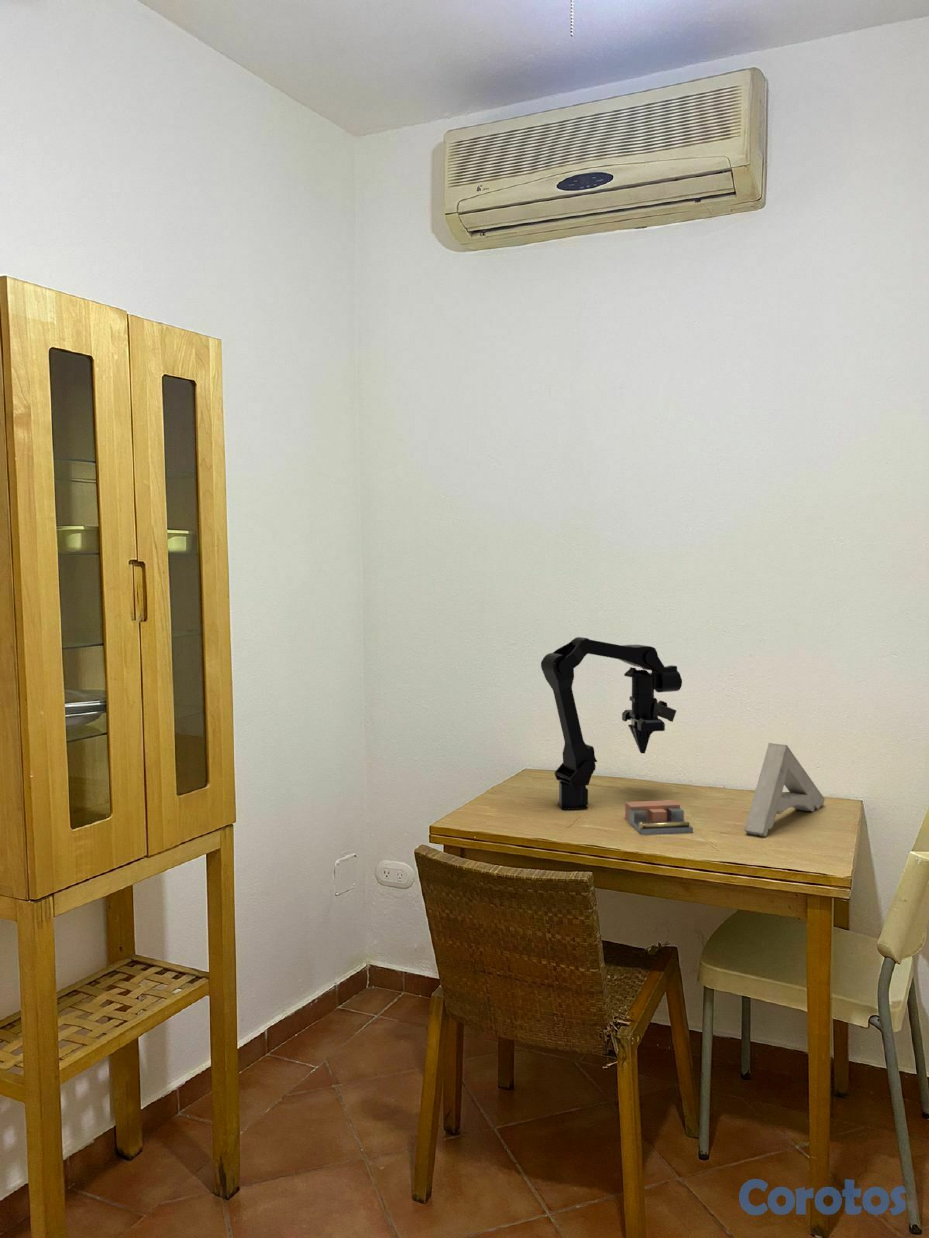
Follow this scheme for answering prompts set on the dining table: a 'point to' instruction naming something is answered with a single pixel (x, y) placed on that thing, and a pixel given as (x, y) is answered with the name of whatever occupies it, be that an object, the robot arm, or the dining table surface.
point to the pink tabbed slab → (651, 809)
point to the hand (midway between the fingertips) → (642, 752)
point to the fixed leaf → (672, 816)
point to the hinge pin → (662, 824)
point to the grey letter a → (780, 790)
